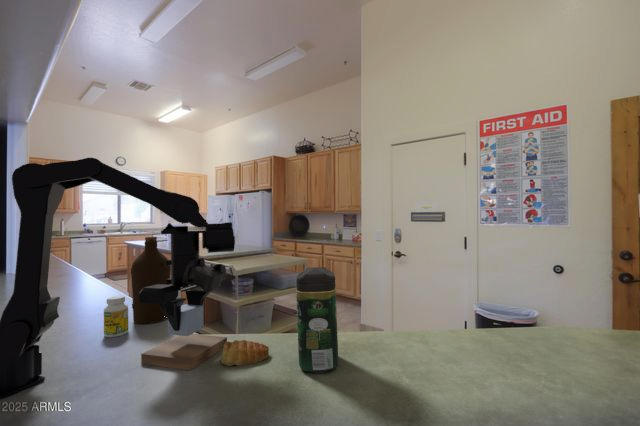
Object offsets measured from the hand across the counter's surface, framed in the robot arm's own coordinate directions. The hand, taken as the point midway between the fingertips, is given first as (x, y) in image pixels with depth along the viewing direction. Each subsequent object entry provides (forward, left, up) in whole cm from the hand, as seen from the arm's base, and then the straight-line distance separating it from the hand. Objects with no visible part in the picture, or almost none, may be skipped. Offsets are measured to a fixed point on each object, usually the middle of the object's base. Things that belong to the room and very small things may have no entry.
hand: (186, 326), depth 65 cm
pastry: (+1, -13, -6) cm, 15 cm away
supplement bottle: (+6, +28, -6) cm, 29 cm away
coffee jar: (+3, -29, -6) cm, 30 cm away
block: (0, 0, -1) cm, 1 cm away
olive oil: (+18, +29, -6) cm, 35 cm away
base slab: (0, 0, -6) cm, 6 cm away
